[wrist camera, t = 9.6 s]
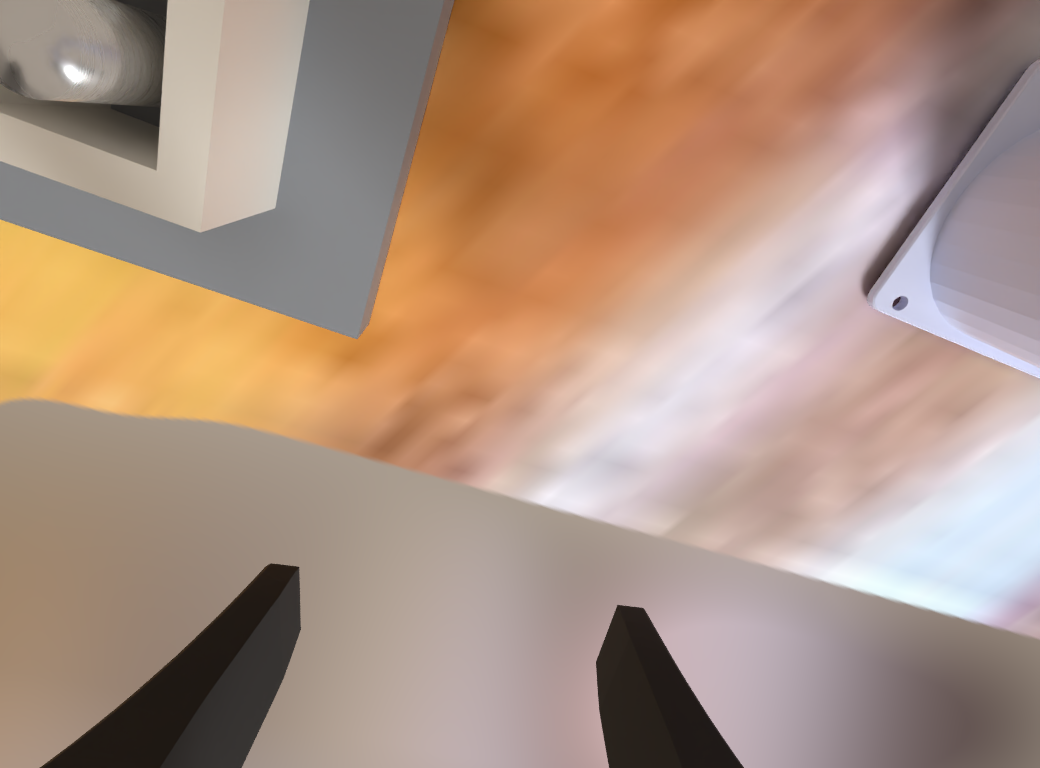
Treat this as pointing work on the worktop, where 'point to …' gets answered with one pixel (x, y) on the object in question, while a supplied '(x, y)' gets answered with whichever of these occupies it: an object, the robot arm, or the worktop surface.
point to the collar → (180, 120)
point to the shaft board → (307, 159)
